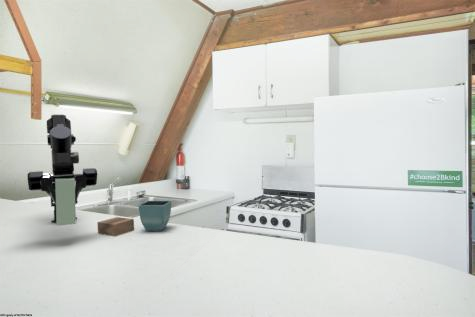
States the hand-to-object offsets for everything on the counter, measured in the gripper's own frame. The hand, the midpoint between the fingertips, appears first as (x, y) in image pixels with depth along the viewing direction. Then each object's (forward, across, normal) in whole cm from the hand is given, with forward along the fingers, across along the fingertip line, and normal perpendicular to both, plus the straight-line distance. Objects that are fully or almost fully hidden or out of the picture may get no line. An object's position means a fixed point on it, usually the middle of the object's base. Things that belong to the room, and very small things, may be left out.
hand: (65, 201), depth 102 cm
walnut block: (+4, +15, +14) cm, 21 cm away
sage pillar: (+4, 0, +6) cm, 7 cm away
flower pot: (+8, +27, +11) cm, 30 cm away
